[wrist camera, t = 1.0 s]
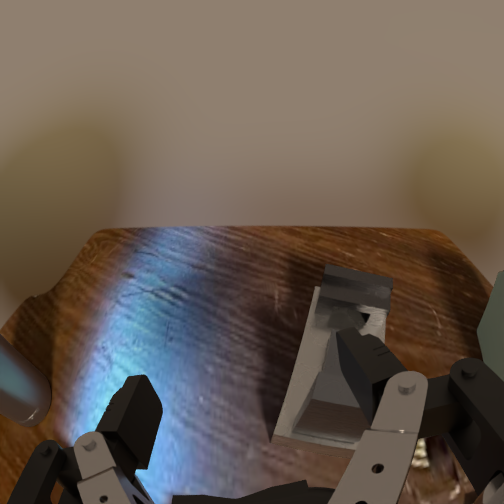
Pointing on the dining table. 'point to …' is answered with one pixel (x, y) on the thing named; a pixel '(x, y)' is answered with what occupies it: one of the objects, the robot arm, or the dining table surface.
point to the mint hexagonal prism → (493, 329)
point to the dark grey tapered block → (331, 404)
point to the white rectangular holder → (316, 343)
